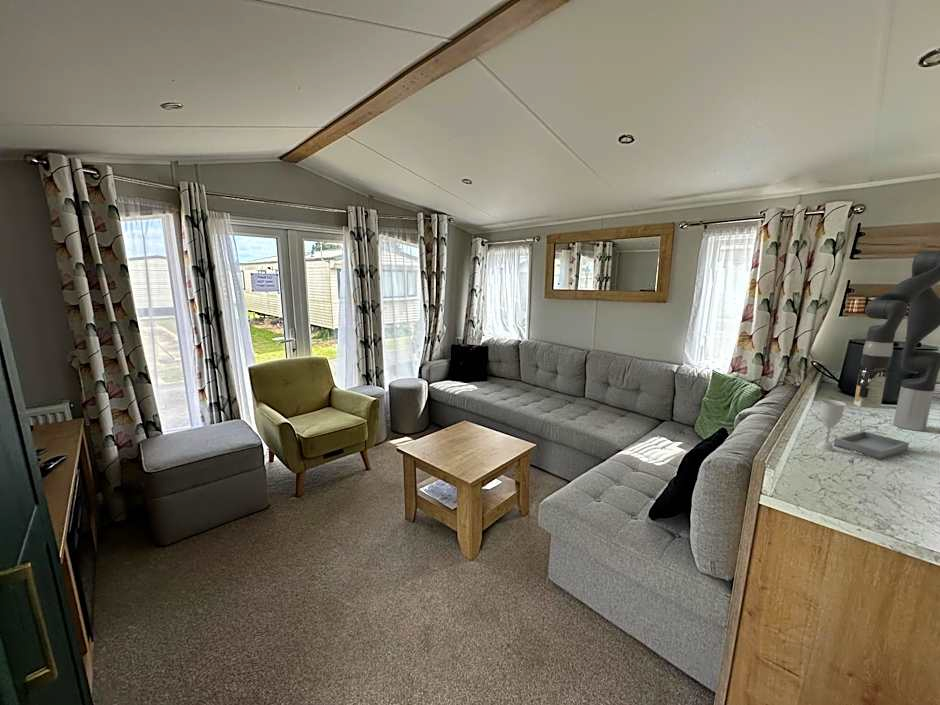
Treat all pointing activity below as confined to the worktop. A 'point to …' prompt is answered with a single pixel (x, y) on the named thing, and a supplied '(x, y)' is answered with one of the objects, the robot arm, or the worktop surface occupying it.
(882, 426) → the worktop surface
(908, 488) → the worktop surface
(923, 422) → the robot arm
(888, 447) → the tray
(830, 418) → the chalice
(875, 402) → the skincare box
